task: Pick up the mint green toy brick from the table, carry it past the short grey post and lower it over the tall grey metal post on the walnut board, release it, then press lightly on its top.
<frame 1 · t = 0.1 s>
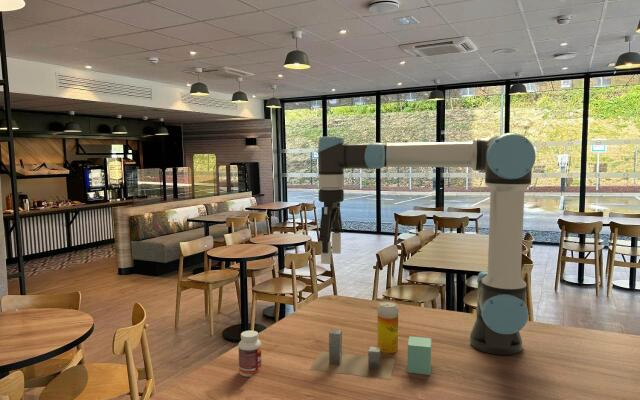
hand: (331, 258, 142), 28 cm above the table, fingers open, 13 cm apart
short post: (374, 366, 129), resting on board
mint green toy brick: (419, 372, 128), on the table
beer can: (387, 352, 141), on the table
board: (353, 368, 131), on the table
tall post: (335, 362, 132), resting on board
pill bottle: (250, 372, 129), on the table
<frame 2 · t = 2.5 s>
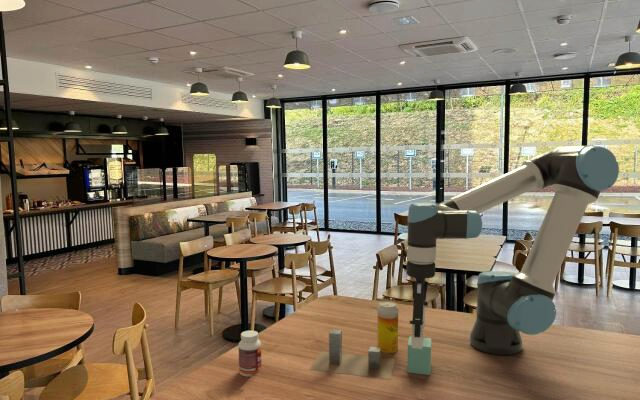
hand: (418, 337, 127), 10 cm above the table, fingers open, 13 cm apart
nothing on the table moved.
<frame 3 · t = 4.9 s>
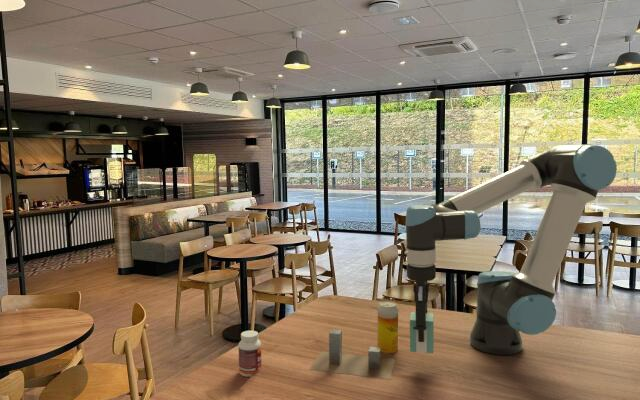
hand: (422, 346, 128), 7 cm above the table, fingers closed on mint green toy brick, 6 cm apart
mint green toy brick: (422, 347, 128), point 7 cm above the table, touching gripper
everything else where it was.
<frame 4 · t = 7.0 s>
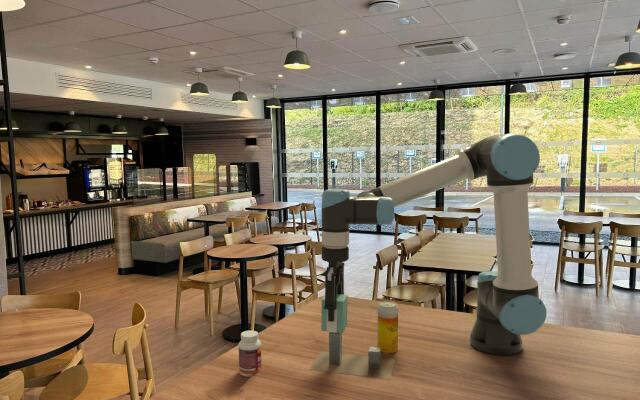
hand: (334, 327, 131), 12 cm above the table, fingers closed on mint green toy brick, 6 cm apart
mint green toy brick: (334, 327, 131), point 11 cm above the table, touching gripper
everything else where it was.
when the fingers open (3 cm above the table, at t = 9.2 s): mint green toy brick stays where it is, resting on tall post.
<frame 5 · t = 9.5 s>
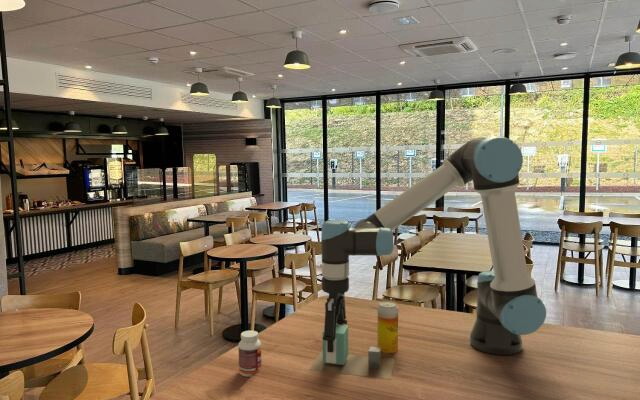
hand: (335, 353, 132), 4 cm above the table, fingers open, 10 cm apart
mint green toy brick: (335, 358, 132), point 2 cm above the table, touching tall post
everything else where it was.
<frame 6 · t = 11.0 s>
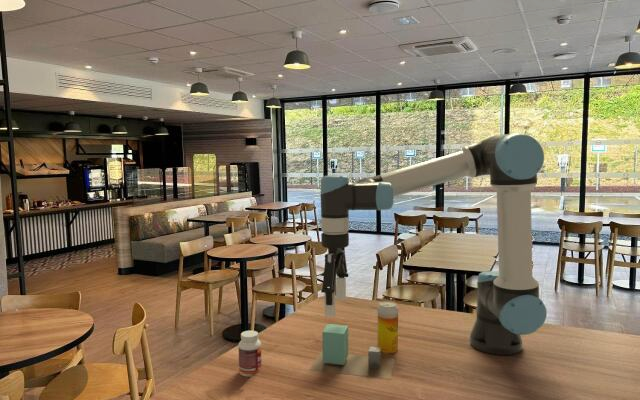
hand: (335, 307, 130), 17 cm above the table, fingers open, 13 cm apart
nothing on the table moved.
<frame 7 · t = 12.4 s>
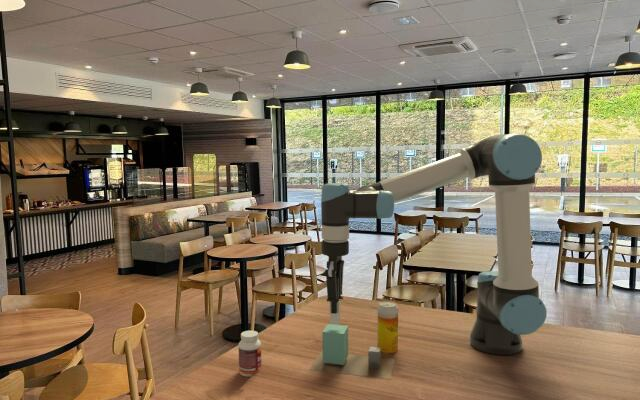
hand: (335, 323, 131), 13 cm above the table, fingers closed
nothing on the table moved.
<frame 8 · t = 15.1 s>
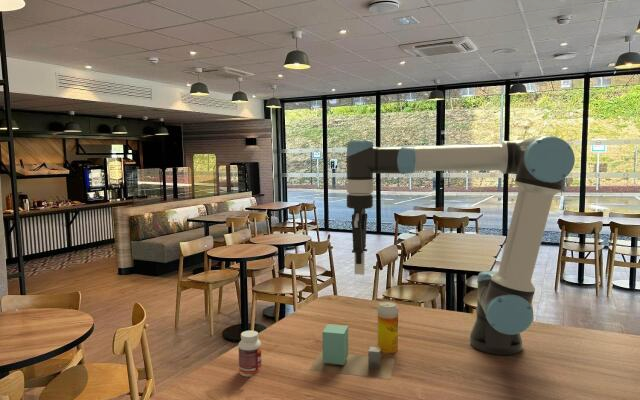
hand: (359, 273, 138), 24 cm above the table, fingers closed
nothing on the table moved.
at the end: mint green toy brick 0.0 cm from the tall post (horizontally); mint green toy brick point 2.2 cm above the table; the gripper is holding nothing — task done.
